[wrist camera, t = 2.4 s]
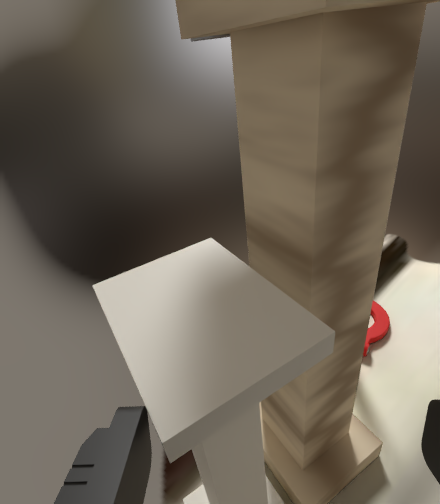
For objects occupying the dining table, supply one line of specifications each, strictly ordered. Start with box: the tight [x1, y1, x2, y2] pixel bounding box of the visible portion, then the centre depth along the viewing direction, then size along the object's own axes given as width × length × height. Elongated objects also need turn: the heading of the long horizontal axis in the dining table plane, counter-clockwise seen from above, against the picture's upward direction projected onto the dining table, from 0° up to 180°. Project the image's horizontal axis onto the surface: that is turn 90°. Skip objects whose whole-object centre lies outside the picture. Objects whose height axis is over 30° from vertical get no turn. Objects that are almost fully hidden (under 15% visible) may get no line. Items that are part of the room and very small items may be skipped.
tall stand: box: [176, 0, 440, 504], centre depth 20 cm, size 8×9×32 cm
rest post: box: [93, 238, 335, 504], centre depth 18 cm, size 6×8×22 cm
